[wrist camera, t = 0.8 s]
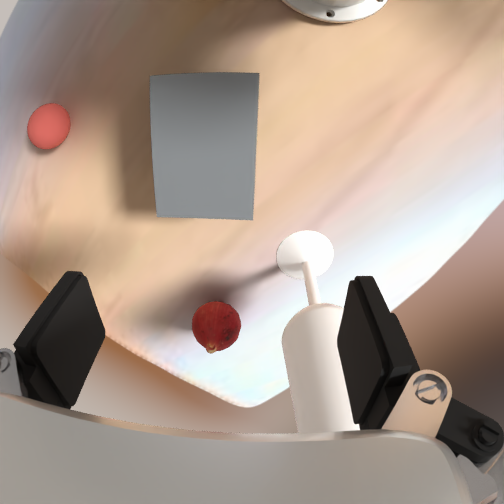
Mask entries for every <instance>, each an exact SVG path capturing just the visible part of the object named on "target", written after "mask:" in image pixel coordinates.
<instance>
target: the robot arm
mask: <svg viewBox="0 0 504 504" xmlns="http://www.w3.org/2000/svg"><path fill="white" fill-rule="evenodd" d="M282 1H283V2H284V3H285V4H286V5H288V6H289V7H291V8H292V9H293V10H295V11H297V12H299V13H301V14H303V15H305V16H307V17H310V18H313V19H316V20H319V21H325V22H330V23H347V22H355V21H358V20H361V19H365V18H367V17H369V16H371V15H373V14H374V13H376V12H377V11H379V10H380V9H381V8H382V7H383V6H384V5H385V4H386V3H387V1H388V0H378V2H377V1H376V0H282ZM326 13H330V14H331V17H328V16H327V15H326ZM104 338H105V328H104V326H103V323H102V320H101V318H100V315H99V312H98V309H97V307H96V304H95V301H94V298H93V295H92V292H91V289H90V286H89V283H88V280H87V277H86V276H84V275H83V273H82V272H77V271H67V272H66V273H65V274H64V275H63V276H62V278H61V279H60V280H59V282H58V283H57V284H56V285H55V287H54V288H53V289H52V291H51V292H50V293H49V295H48V296H47V297H46V299H45V300H44V301H43V303H42V304H41V305H40V307H39V308H38V310H37V311H36V312H35V314H34V315H33V316H32V318H31V319H30V321H29V322H28V324H27V325H26V326H25V328H24V329H23V331H22V332H21V334H20V335H19V337H18V338H17V340H16V341H15V343H14V344H13V345H14V347H15V348H16V351H15V352H14V353H13V352H12V351H11V350H10V349H7V348H3V349H0V504H504V433H503V430H502V428H501V427H500V425H499V424H498V423H497V422H496V421H494V420H493V419H491V418H489V417H487V416H485V415H483V414H481V413H480V412H478V411H476V410H474V409H472V408H470V407H468V406H467V405H465V404H463V403H461V402H459V401H457V400H455V399H453V398H452V397H451V395H452V389H451V385H450V383H449V382H448V380H447V379H446V378H445V377H444V376H443V375H441V374H440V373H438V372H436V371H432V370H421V371H420V368H419V366H418V363H417V361H416V359H415V356H414V354H413V352H412V349H411V347H410V345H409V342H408V340H407V338H406V336H405V333H404V331H403V329H402V327H401V325H400V323H399V320H398V318H397V316H396V315H395V314H394V313H390V311H389V309H388V307H387V305H386V303H385V301H384V298H383V296H382V294H381V292H380V290H379V288H378V286H377V284H376V282H375V280H374V278H373V276H356V277H355V280H351V281H350V282H349V286H348V291H347V296H346V301H345V306H344V310H343V315H342V319H341V323H340V328H339V332H338V336H337V348H338V352H339V356H340V361H341V365H342V370H343V374H344V379H345V383H346V388H347V393H348V397H349V402H350V407H351V412H352V417H353V422H354V424H359V428H360V430H353V431H337V432H320V433H291V434H248V433H245V434H244V433H223V432H208V431H207V432H206V431H195V430H184V429H175V428H166V427H159V426H151V425H145V424H138V423H132V422H126V421H120V420H115V419H110V418H105V417H100V416H96V415H91V414H87V413H82V412H78V411H74V410H70V408H71V406H74V405H75V403H76V401H77V398H78V396H79V394H80V391H81V389H82V387H83V385H84V382H85V380H86V378H87V375H88V373H89V371H90V369H91V366H92V364H93V362H94V360H95V357H96V356H97V353H98V351H99V349H100V347H101V345H102V343H103V340H104Z"/></svg>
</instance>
